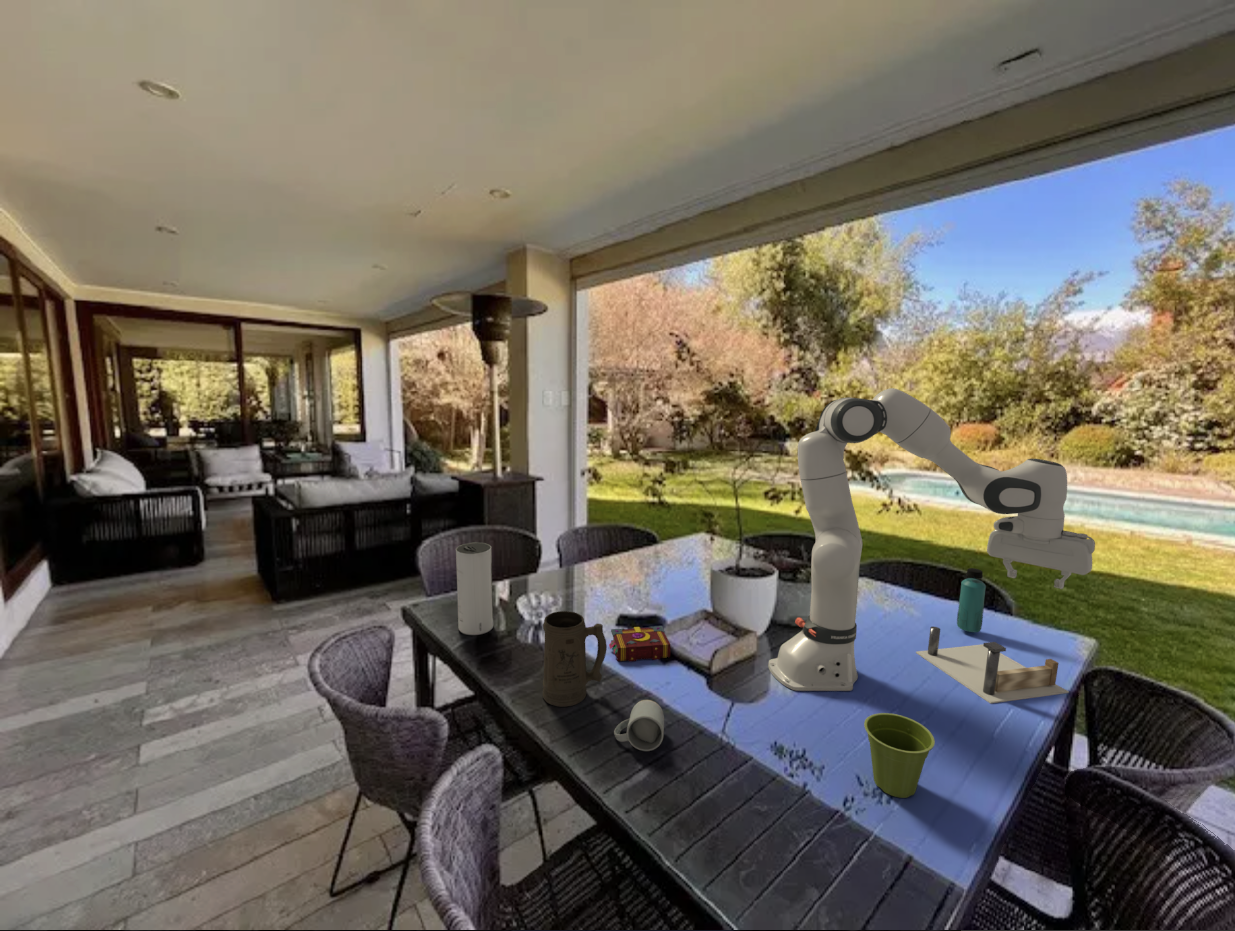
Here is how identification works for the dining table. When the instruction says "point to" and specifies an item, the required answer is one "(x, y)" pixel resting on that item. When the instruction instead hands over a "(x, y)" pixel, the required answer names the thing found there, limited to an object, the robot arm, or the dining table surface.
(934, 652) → the post
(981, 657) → the mat
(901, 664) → the dining table surface
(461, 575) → the speaker
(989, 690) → the gate post
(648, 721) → the ceramic mug
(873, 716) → the plant pot
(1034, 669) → the gate
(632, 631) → the decorative book
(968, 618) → the beverage bottle
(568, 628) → the beer stein
